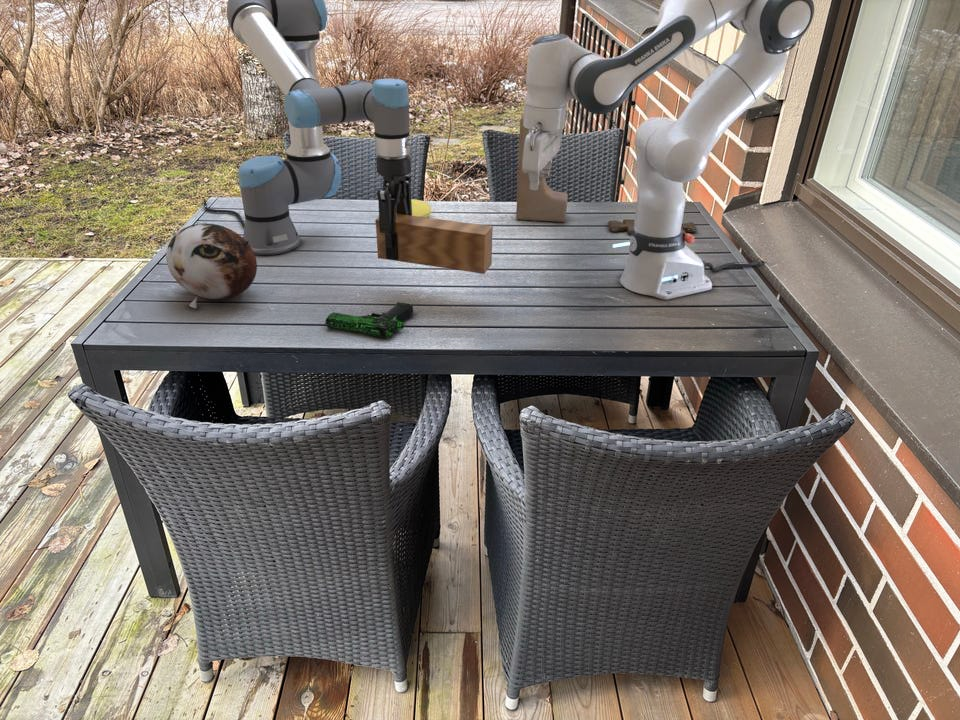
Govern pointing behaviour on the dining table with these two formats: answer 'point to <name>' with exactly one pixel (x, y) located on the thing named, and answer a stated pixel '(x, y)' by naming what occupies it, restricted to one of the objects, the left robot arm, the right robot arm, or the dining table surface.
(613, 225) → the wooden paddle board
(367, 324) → the handgun
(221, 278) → the cat face balloon
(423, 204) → the yellow pattypan squash
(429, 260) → the bar
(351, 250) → the dining table surface
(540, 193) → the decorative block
